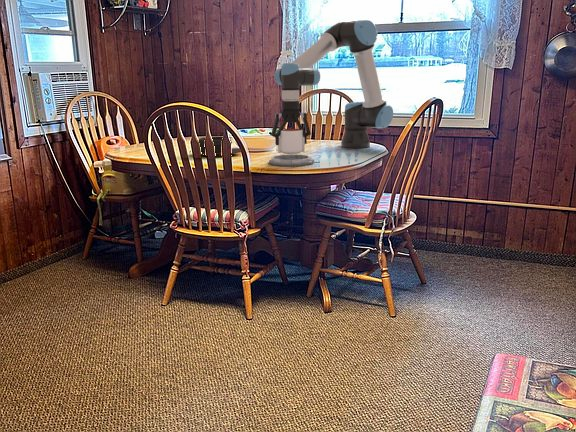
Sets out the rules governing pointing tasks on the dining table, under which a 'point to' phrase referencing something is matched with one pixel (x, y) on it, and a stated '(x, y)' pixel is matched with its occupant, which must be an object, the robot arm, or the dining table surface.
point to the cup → (291, 141)
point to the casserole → (217, 145)
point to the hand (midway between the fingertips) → (291, 152)
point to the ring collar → (291, 160)
